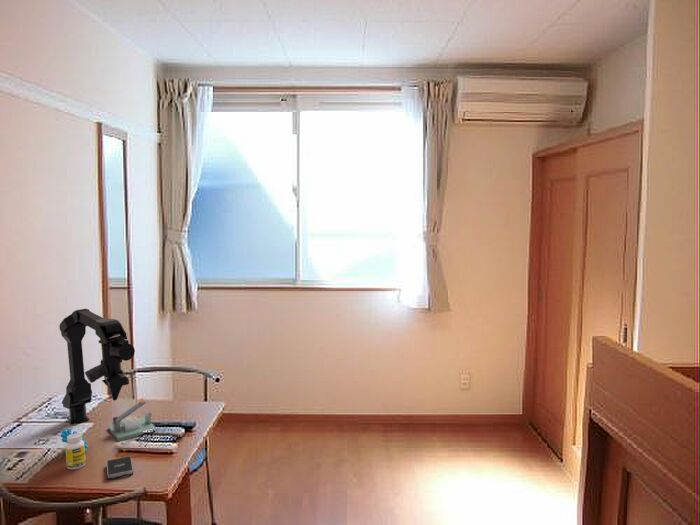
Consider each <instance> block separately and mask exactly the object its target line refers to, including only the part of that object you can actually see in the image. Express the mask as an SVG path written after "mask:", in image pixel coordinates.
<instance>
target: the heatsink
mask: <svg viewBox="0 0 700 525" xmlns="http://www.w3.org/2000/svg"><path fill="white" fill-rule="evenodd" d="M121 427H122V428H123V429H124V430H125V431H130V430H134V429H138V428H140V420H139V419H138V417H137V416H136V415H131V416H127V417H126V418H124V419H123V420H121Z"/></svg>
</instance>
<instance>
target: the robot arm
mask: <svg viewBox="0 0 700 525" xmlns="http://www.w3.org/2000/svg"><path fill="white" fill-rule="evenodd" d="M58 327H59V332H60V333H61V336H62V339H64V340H65V342H66V344H67V345H66V346H67V354H68V355H67V356H68V358H67V359H68V365H69V366H68V368H69V377H70V378H69V382H68V383H67V385H66V388H65V391H66V392H65V395H64V397H63V399H62V400H61V404H62V407H63V408H65V409H68V411H69V417H68V418H67V421H68V420H69V421H68V423H69V422H70V423H69V425H74V424H73V423H75V424H80V423H83V422H88V421H90V418H89V416H88V415H87V404H89V403H91V402H92V396H93V391H92V384H91V383H95V382H96V381H97V380H100V379H101V378H103V377H104V379H103V380H102V383H103V384H105V385H106V387H107V388H108V389H109V393H110V396H111V400H113V401H117V400H118V398H119V395H120V392H121V390H122V387H124V386H127V385H129V384H130V379H129V377H128V376H127V375H125V374H124V371H123V369H122V362H123V361H124V362H125V361H130V360H131V359H133V357H134V355H135V352H136V350H135V347H134V346H133V344H130V343H129V340H128V336H127V335H128V334H127V332H126V331H125V329H124V327H123V325H122V323H121V322H120V320H118V319H116V318H105V317H102V316H101V315H98V314H96V313H95V312H92V311H90V309H89V308H81V309H76V310H73V312H72V313H70V314H69V315H67V316H65V317H63V320H61V322H60V323H59V326H58ZM87 327H89V328H90V329H93V330H94V331H95V335H96V336H97V337H98V338H99V340H98V343H99V344H101V355H102V356H101V357H102V359H100V362H99V363H100V364H98V365H95V366H94V367H92V368H90V369H88V370H86V371H85V366H84V355H83V352H84V351H83V339H84V338H85V335H86V333H87V332H86V331H87V329H86V328H87ZM86 378H87V379H88V380H87V379H86ZM88 381H89V382H88Z"/></svg>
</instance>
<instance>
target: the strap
mask: <svg viewBox="0 0 700 525" xmlns="http://www.w3.org/2000/svg"><path fill="white" fill-rule="evenodd" d="M146 404H147V403H146V401H145V399H144V398H140V399H139V400H138V403H136V404H134V405H133V406H131V407H130V408H129V409H127V411H125V412H123V413H122V414H120V415H119V416H118V417H117V416H116V417H117V418H116V420H119V419H120V420H123V419H124V418H127V417H129V415H131V414H132V413H134V412H136V411H137V410H138V409H140V408H142V407H143V406H144V405H146Z"/></svg>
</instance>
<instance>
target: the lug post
mask: <svg viewBox="0 0 700 525" xmlns="http://www.w3.org/2000/svg"><path fill="white" fill-rule="evenodd" d="M144 417H145V422H146V423H147V424H151V423H152V418H151V417H152V413H151V412H147V413H144Z"/></svg>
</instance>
